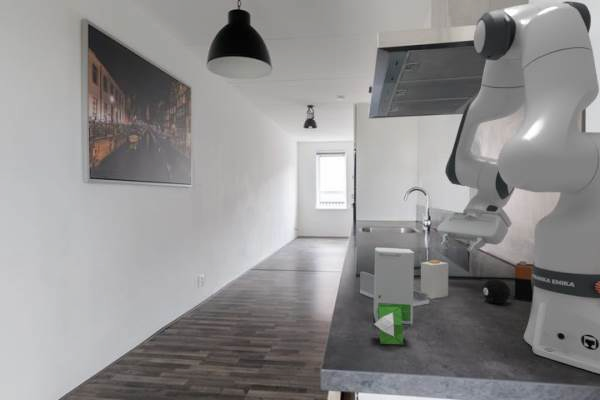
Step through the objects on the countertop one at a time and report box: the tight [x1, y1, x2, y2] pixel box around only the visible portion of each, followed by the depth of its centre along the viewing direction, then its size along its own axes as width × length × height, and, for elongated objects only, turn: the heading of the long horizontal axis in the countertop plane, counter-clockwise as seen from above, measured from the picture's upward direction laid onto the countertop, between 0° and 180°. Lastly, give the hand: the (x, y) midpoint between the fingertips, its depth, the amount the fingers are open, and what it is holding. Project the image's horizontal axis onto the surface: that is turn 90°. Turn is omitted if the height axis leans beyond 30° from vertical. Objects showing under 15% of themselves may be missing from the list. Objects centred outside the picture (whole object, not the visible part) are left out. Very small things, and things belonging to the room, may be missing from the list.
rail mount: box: [359, 271, 430, 307], centre depth 99 cm, size 16×10×6 cm, turn 26°
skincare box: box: [373, 247, 415, 325], centre depth 82 cm, size 8×7×16 cm
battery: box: [514, 260, 534, 302], centre depth 97 cm, size 4×7×10 cm, turn 54°
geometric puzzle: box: [371, 306, 412, 346], centre depth 69 cm, size 7×7×8 cm
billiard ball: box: [482, 278, 511, 304], centre depth 94 cm, size 6×6×6 cm
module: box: [420, 259, 449, 300], centre depth 101 cm, size 4×6×10 cm, turn 116°
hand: (456, 249), depth 105 cm, fingers open, 8 cm apart
